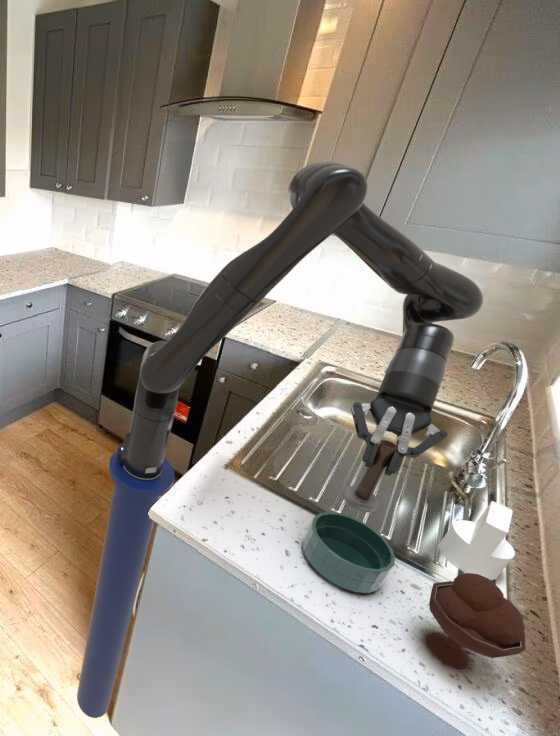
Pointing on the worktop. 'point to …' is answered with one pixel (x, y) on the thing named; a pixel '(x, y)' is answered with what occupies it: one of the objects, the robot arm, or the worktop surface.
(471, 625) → the ice cream bowl
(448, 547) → the base with upright slab
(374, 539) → the mixing bowl
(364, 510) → the brown peg on base
